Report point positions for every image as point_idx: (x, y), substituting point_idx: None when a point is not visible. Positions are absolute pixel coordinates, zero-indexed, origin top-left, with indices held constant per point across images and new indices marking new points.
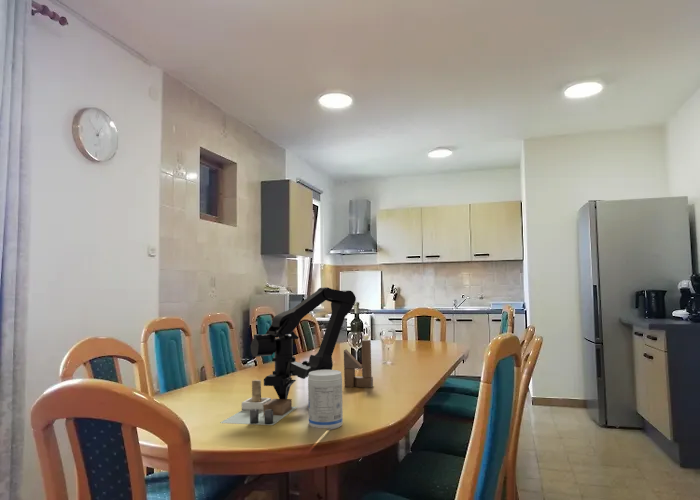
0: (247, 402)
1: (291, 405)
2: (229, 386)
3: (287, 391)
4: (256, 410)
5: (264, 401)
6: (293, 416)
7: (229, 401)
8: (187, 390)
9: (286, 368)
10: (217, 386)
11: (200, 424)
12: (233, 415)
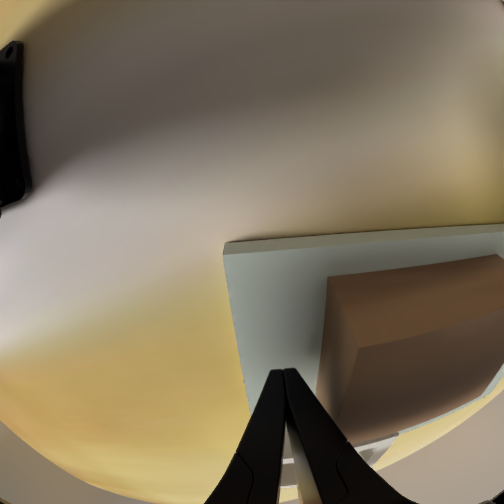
0: (371, 466)
1: (340, 296)
2: (80, 471)
3: (278, 471)
4: None
5: (359, 447)
6: (457, 187)
7: (195, 482)
8: (153, 501)
9: None
10: (97, 480)
11: (455, 422)
12: (427, 423)
